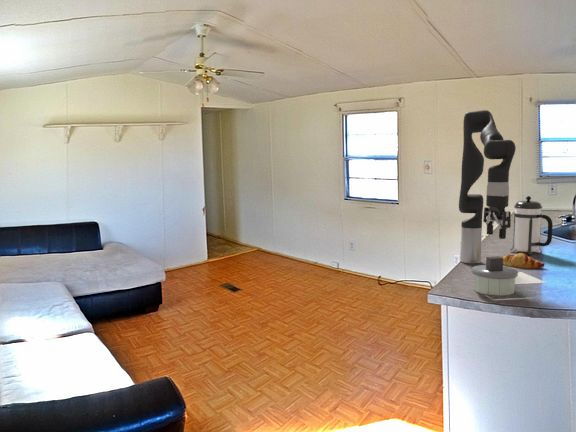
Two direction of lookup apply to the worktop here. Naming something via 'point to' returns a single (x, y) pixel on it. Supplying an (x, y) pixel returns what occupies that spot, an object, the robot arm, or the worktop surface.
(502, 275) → the lid
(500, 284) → the bowl
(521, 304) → the worktop surface
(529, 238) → the coffee press
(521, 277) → the mat
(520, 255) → the croissant
